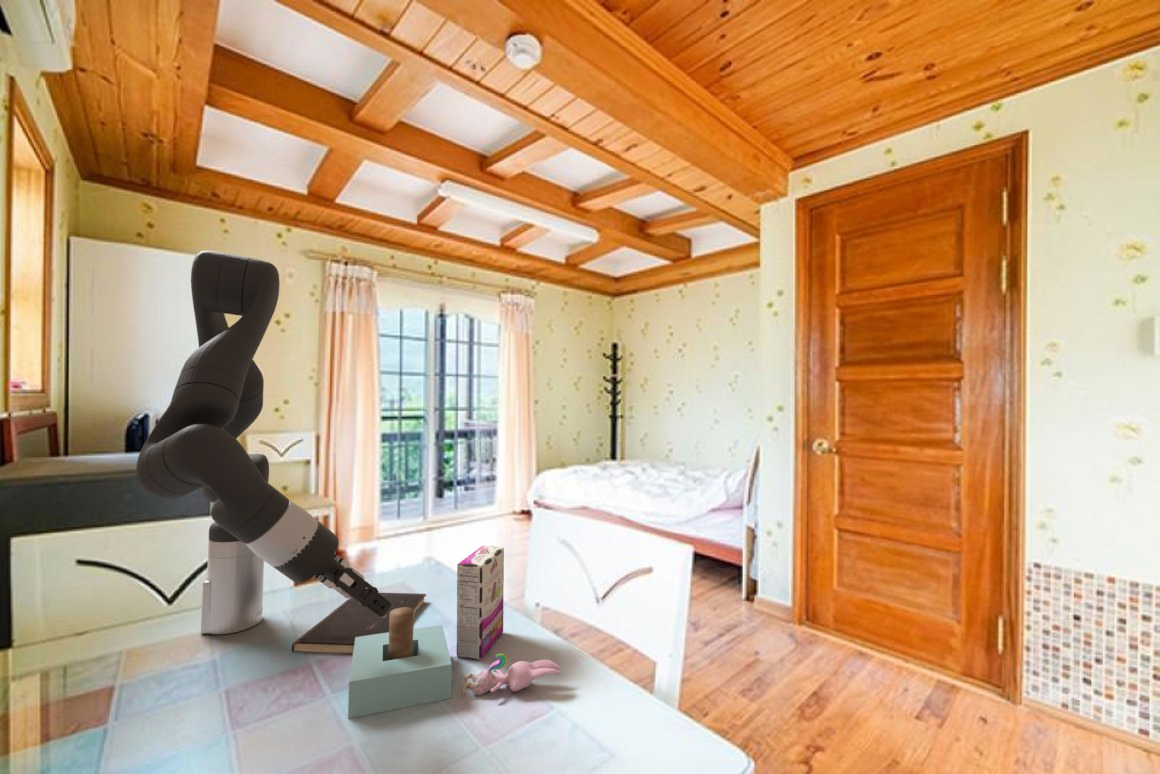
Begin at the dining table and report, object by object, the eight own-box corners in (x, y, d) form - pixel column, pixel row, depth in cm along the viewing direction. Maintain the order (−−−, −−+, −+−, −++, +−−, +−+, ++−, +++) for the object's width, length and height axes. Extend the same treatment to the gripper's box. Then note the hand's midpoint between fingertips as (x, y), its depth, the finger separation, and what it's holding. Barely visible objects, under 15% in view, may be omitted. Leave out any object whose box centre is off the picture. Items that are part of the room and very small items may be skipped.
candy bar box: (479, 629, 96) (481, 544, 97) (503, 632, 95) (505, 546, 96) (453, 658, 85) (456, 562, 86) (480, 661, 84) (483, 564, 85)
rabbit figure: (462, 713, 72) (562, 691, 74) (456, 672, 73) (557, 652, 74) (467, 688, 79) (560, 669, 80) (462, 651, 79) (555, 633, 80)
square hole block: (347, 718, 69) (349, 681, 69) (354, 667, 82) (355, 637, 82) (450, 698, 74) (451, 664, 74) (441, 653, 87) (442, 624, 87)
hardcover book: (425, 604, 109) (426, 593, 109) (380, 657, 86) (381, 644, 86) (354, 602, 110) (355, 591, 110) (291, 654, 87) (291, 641, 87)
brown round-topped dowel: (387, 691, 75) (389, 618, 76) (387, 678, 79) (389, 608, 79) (412, 686, 77) (414, 614, 77) (411, 674, 80) (413, 605, 80)
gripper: (333, 527, 64) (413, 592, 72) (297, 509, 74) (370, 568, 82) (286, 578, 60) (376, 641, 68) (254, 552, 70) (336, 610, 78)
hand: (373, 601), depth 75 cm, fingers open, 8 cm apart
